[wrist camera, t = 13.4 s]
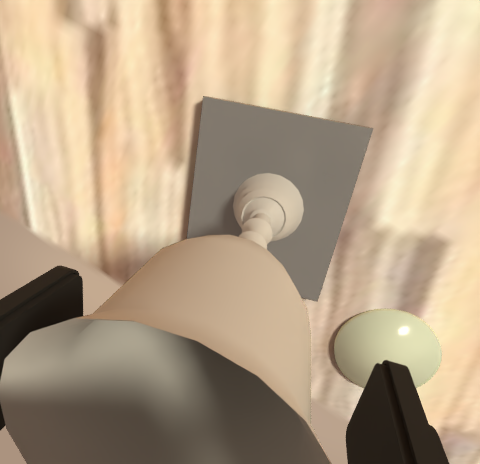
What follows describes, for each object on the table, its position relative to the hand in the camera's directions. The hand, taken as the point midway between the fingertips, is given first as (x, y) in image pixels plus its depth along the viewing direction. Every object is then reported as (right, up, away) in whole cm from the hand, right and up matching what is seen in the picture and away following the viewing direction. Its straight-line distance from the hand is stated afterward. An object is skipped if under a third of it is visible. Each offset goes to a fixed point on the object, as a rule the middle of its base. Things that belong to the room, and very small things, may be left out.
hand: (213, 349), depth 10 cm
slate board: (+3, +6, +14) cm, 15 cm away
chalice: (+3, +5, +13) cm, 15 cm away
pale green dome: (+13, -6, +17) cm, 22 cm away
